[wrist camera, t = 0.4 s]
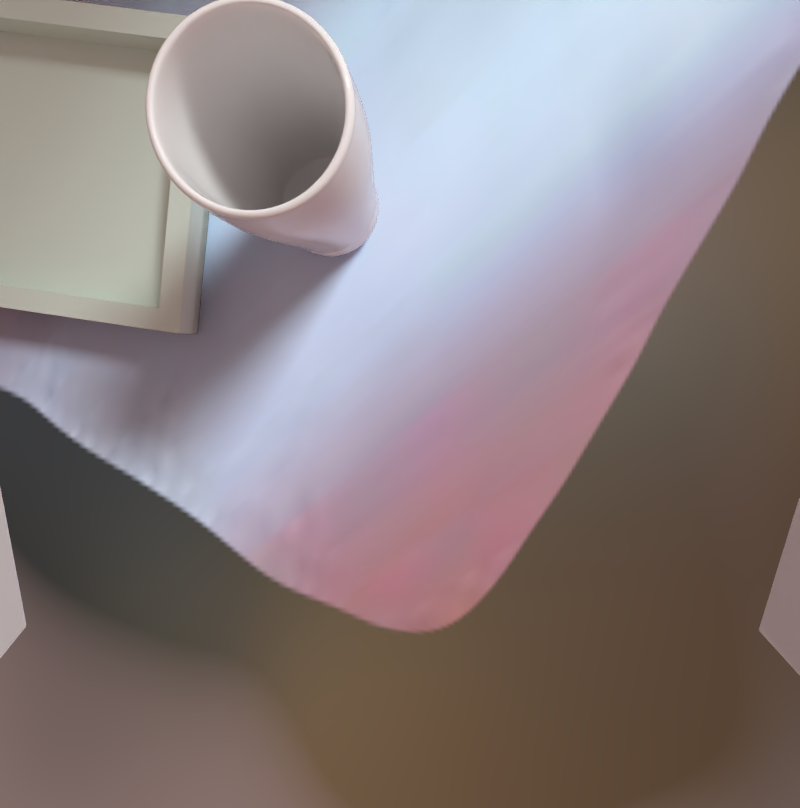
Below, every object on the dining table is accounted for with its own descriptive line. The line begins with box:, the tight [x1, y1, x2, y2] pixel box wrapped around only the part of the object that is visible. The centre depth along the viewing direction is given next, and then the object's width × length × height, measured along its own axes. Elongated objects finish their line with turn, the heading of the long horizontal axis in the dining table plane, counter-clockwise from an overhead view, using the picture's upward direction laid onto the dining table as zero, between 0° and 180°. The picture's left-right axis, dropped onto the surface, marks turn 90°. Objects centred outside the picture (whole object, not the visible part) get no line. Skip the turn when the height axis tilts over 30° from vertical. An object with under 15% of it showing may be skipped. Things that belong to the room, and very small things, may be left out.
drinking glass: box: [145, 0, 379, 256], centre depth 25 cm, size 7×7×15 cm
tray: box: [0, 0, 209, 334], centre depth 32 cm, size 16×16×2 cm
